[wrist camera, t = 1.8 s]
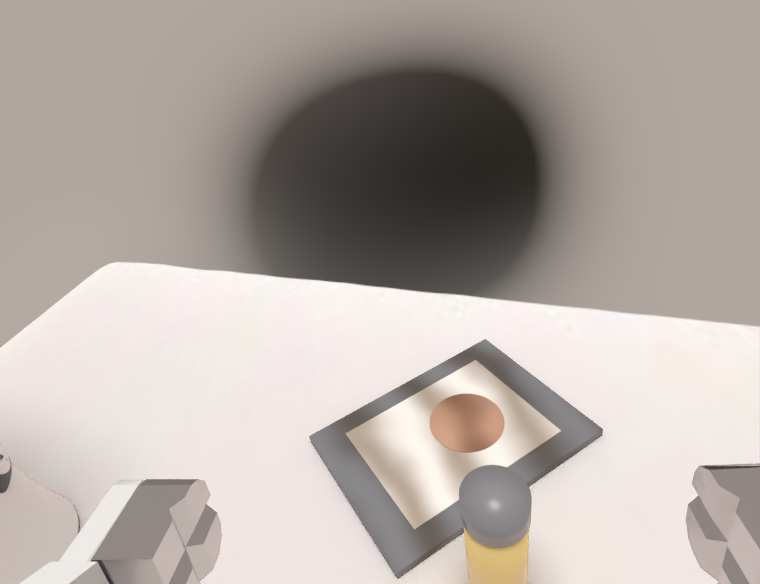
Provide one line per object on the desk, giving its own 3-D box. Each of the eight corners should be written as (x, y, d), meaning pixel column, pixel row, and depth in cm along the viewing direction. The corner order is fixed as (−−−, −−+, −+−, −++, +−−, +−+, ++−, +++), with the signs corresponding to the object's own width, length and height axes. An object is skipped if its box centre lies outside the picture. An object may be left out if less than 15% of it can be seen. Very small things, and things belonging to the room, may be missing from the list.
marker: (495, 637, 36) (490, 543, 29) (457, 584, 39) (444, 488, 32) (541, 600, 37) (547, 501, 30) (500, 552, 40) (498, 453, 33)
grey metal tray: (397, 578, 40) (395, 571, 39) (311, 441, 52) (308, 435, 51) (602, 435, 47) (603, 427, 47) (485, 344, 59) (485, 337, 59)
